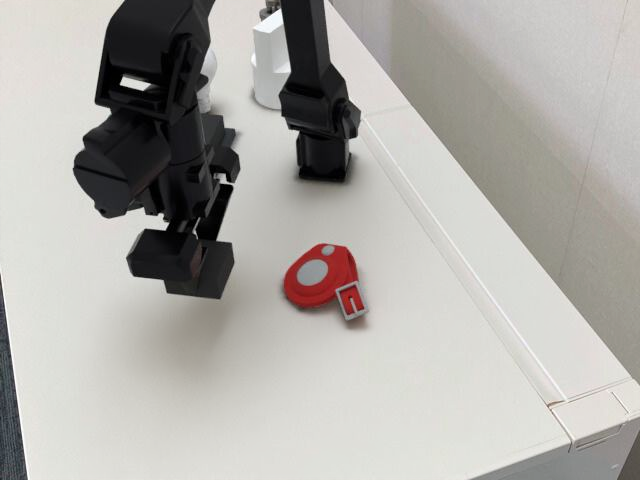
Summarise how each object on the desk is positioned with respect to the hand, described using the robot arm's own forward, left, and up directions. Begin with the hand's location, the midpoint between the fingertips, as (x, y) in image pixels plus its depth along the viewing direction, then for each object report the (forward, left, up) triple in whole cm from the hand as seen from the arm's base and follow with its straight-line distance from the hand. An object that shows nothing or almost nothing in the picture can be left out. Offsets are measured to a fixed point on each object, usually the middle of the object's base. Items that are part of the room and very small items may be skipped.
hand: (200, 270), depth 84 cm
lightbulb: (+13, -41, -7) cm, 44 cm away
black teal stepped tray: (+16, -30, -7) cm, 35 cm away
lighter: (+4, -59, -7) cm, 60 cm away
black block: (0, 0, -1) cm, 1 cm away
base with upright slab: (+2, -48, -7) cm, 49 cm away
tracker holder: (-13, -5, -7) cm, 16 cm away
